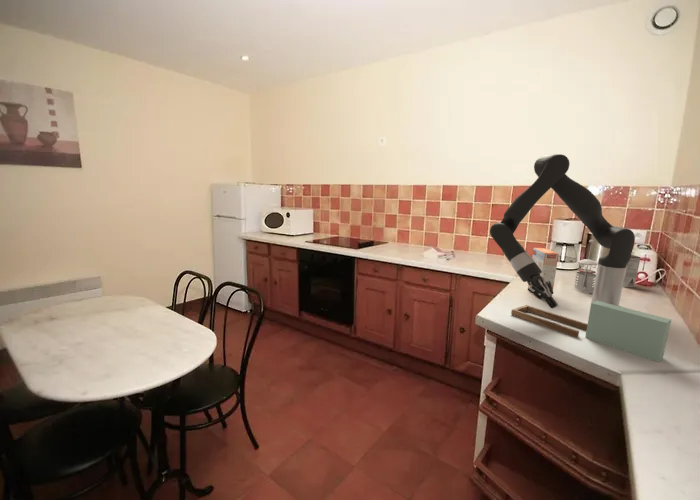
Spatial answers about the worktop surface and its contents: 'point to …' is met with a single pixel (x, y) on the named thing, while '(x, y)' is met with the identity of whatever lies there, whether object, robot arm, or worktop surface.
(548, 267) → the cracker box
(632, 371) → the worktop surface
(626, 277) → the coffee box
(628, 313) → the pale green rectangular block
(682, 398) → the worktop surface
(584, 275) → the french press
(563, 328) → the open frame
